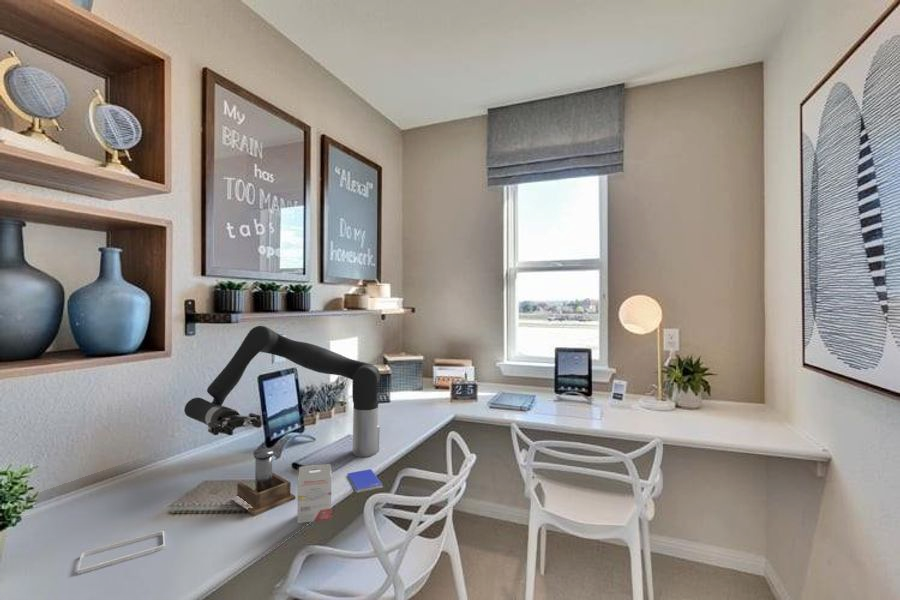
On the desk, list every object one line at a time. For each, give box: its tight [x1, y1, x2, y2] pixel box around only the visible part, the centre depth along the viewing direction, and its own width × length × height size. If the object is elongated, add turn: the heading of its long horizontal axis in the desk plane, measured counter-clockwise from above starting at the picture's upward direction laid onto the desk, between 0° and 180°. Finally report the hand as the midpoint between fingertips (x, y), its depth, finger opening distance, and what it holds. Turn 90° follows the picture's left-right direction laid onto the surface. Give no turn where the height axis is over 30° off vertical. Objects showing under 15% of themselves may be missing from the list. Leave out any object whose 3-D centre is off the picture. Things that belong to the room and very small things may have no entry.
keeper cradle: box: [236, 472, 296, 517], centre depth 115 cm, size 12×13×5 cm
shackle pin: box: [253, 447, 275, 493], centre depth 115 cm, size 5×5×13 cm
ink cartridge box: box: [296, 463, 333, 524], centre depth 107 cm, size 9×5×15 cm, turn 106°
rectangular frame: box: [76, 530, 166, 575], centre depth 90 cm, size 7×1×15 cm
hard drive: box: [346, 469, 384, 493], centre depth 128 cm, size 2×8×12 cm
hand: (246, 428), depth 122 cm, fingers open, 8 cm apart
